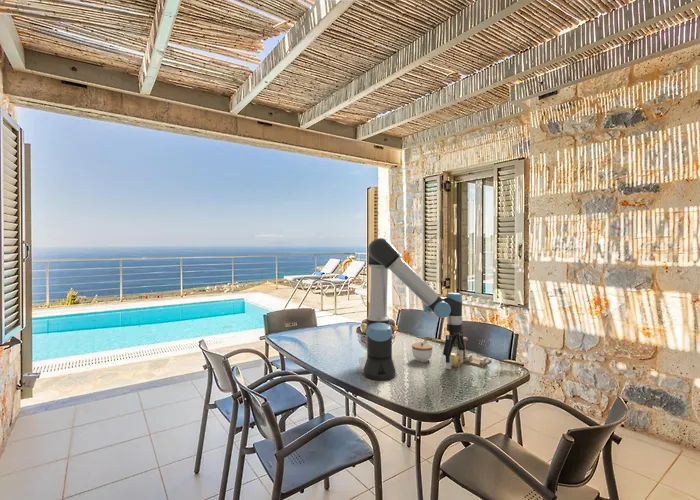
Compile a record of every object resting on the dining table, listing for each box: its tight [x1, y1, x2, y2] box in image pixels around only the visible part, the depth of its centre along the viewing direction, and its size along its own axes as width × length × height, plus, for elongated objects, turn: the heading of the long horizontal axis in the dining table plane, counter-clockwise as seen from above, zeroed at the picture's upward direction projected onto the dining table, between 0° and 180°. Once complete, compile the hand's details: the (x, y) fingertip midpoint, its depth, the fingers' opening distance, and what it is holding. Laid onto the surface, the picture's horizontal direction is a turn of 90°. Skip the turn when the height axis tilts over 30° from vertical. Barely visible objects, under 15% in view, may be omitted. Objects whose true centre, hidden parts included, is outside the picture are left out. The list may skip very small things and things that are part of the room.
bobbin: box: [454, 336, 470, 359], centre depth 192 cm, size 8×8×10 cm
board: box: [462, 353, 492, 368], centre depth 189 cm, size 12×18×4 cm, turn 47°
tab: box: [450, 352, 461, 368], centre depth 180 cm, size 3×5×6 cm, turn 47°
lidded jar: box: [411, 342, 433, 363], centre depth 189 cm, size 11×11×9 cm
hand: (454, 365), depth 180 cm, fingers open, 12 cm apart
